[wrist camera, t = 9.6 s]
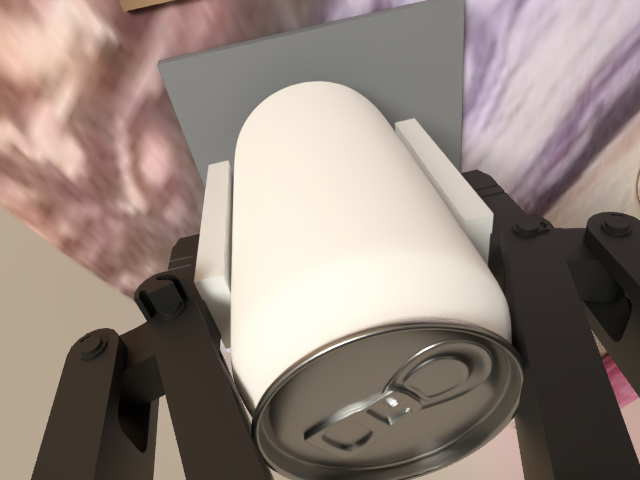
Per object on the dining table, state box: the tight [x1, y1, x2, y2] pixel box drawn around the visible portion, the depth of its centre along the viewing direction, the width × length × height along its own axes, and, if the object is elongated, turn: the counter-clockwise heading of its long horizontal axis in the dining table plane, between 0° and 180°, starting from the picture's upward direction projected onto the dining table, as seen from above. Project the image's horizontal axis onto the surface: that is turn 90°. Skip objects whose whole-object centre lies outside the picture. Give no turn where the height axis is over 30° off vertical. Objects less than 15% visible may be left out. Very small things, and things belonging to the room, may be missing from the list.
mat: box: [157, 0, 465, 189], centre depth 20 cm, size 12×9×1 cm
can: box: [231, 81, 525, 480], centre depth 14 cm, size 6×6×12 cm
